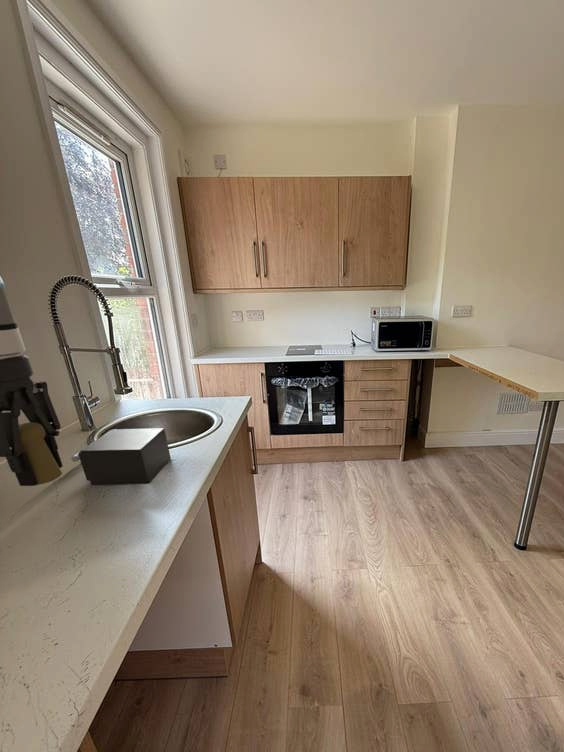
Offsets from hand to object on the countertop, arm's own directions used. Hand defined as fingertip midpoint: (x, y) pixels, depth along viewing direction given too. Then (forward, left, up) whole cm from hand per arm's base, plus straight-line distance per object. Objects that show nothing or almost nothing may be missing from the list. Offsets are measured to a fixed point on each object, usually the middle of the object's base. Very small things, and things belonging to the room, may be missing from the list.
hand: (42, 475), depth 67 cm
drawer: (-1, +23, -11) cm, 25 cm away
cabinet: (+3, +23, -12) cm, 26 cm away
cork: (0, 0, -1) cm, 1 cm away
